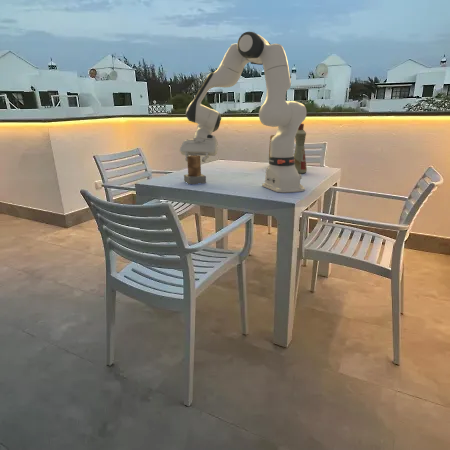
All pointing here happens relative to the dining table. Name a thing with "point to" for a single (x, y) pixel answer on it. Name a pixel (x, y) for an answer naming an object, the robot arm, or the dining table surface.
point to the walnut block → (194, 165)
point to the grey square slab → (195, 179)
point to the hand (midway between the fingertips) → (195, 160)
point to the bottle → (300, 150)
